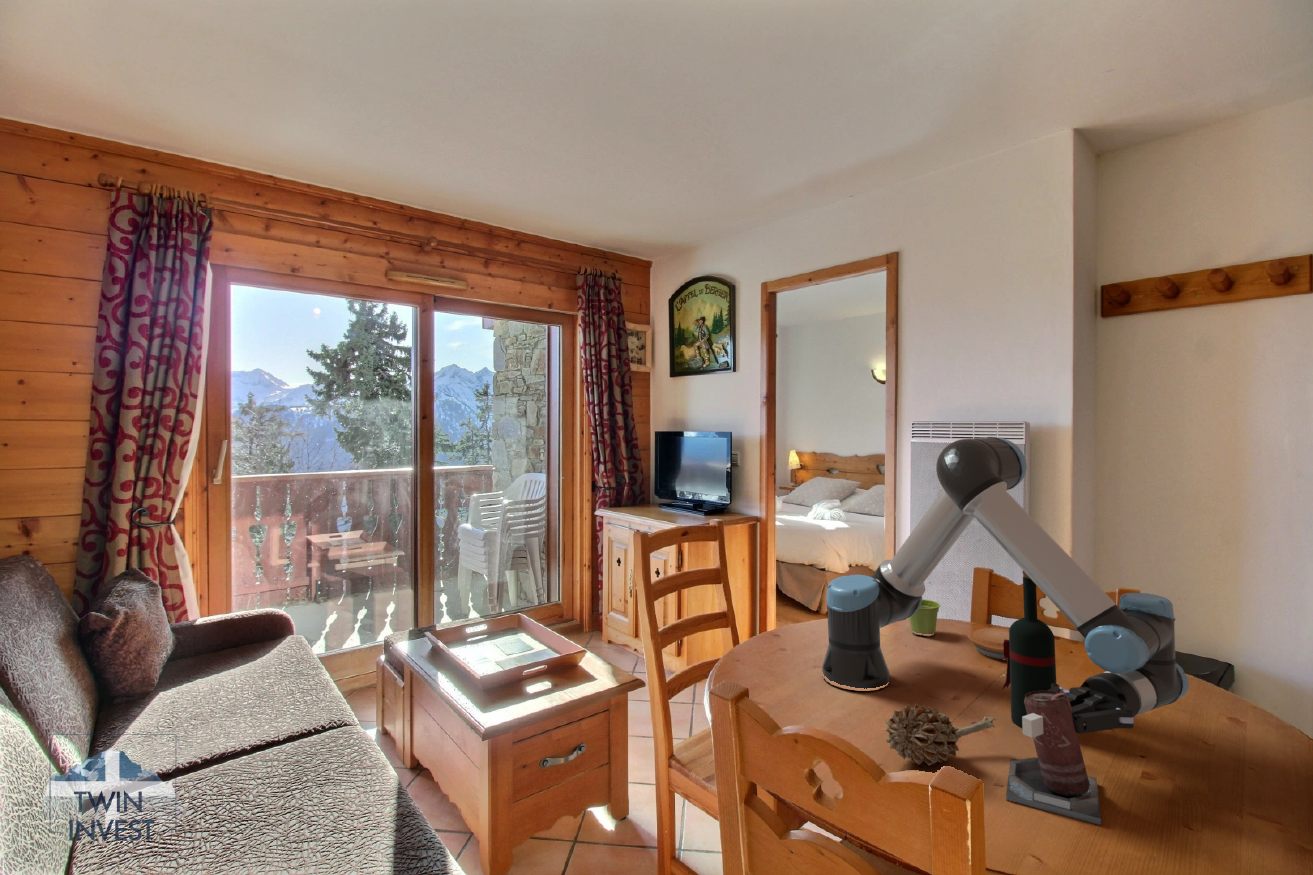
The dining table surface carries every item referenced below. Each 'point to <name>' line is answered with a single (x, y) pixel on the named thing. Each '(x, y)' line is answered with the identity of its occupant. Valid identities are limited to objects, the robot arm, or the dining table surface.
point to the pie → (990, 641)
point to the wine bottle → (1028, 654)
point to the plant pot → (925, 617)
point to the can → (1058, 744)
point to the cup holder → (1050, 793)
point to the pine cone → (927, 734)
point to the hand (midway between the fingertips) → (1027, 727)
